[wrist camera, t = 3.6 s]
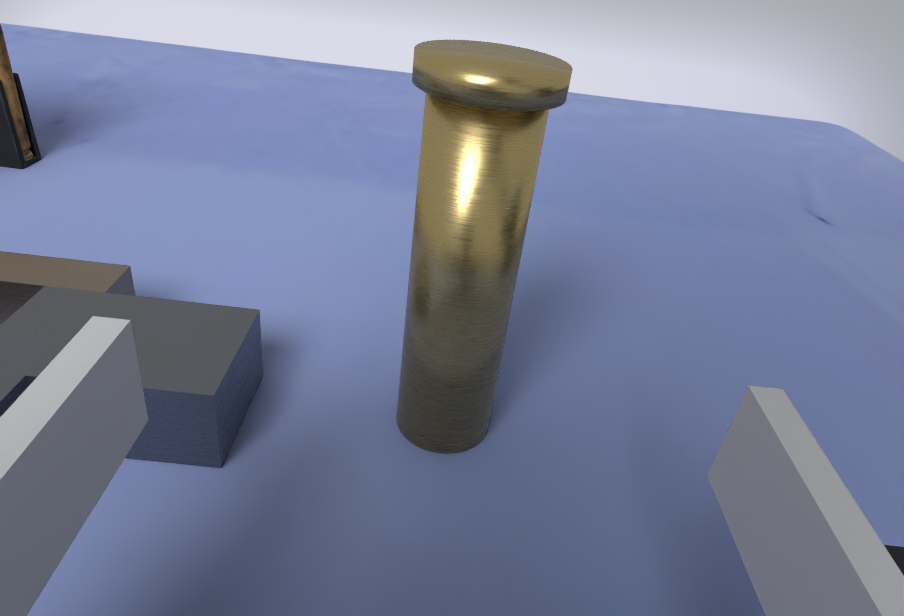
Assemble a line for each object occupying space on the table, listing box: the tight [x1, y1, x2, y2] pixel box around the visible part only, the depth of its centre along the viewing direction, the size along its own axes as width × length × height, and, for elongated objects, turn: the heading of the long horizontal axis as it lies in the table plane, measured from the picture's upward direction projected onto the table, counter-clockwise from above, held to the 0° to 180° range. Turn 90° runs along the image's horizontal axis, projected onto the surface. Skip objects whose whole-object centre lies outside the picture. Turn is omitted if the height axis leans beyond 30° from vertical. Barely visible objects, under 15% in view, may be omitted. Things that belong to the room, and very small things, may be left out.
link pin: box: [396, 40, 572, 453], centre depth 21 cm, size 4×4×13 cm
